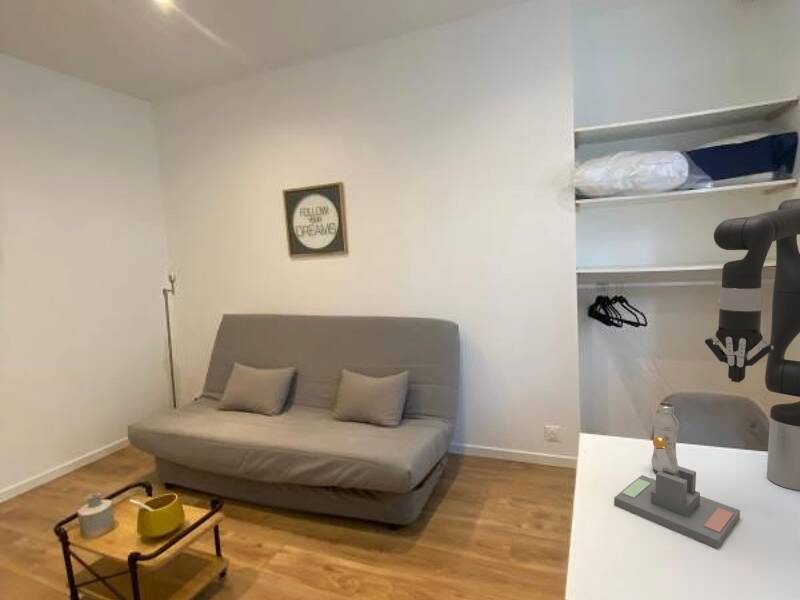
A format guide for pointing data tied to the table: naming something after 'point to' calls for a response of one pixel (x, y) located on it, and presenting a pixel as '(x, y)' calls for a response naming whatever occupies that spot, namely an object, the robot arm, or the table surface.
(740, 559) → the table surface
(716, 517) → the switch box
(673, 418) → the plastic bottle
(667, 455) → the lever
